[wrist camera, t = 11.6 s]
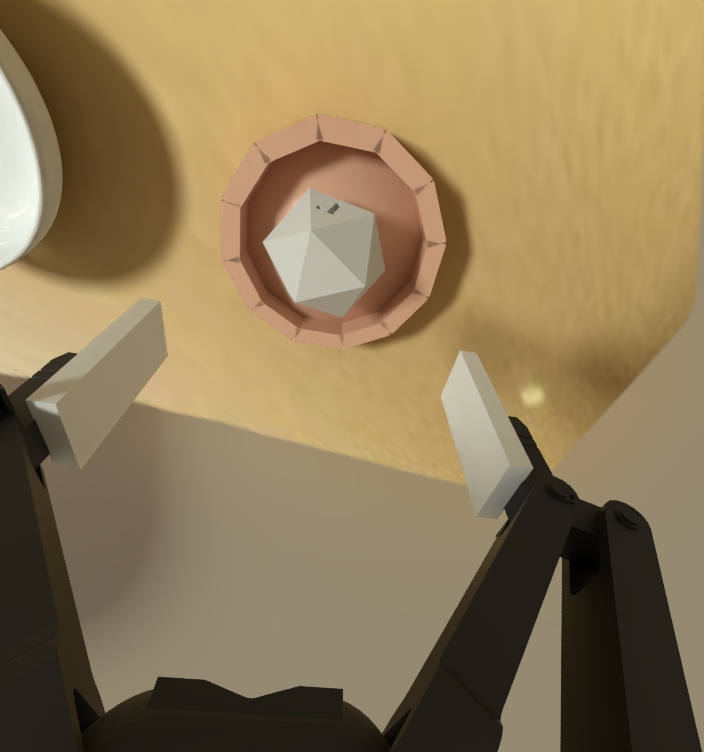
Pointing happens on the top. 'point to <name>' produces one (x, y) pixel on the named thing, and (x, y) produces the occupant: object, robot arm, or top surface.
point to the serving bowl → (25, 160)
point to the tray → (352, 185)
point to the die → (326, 252)
